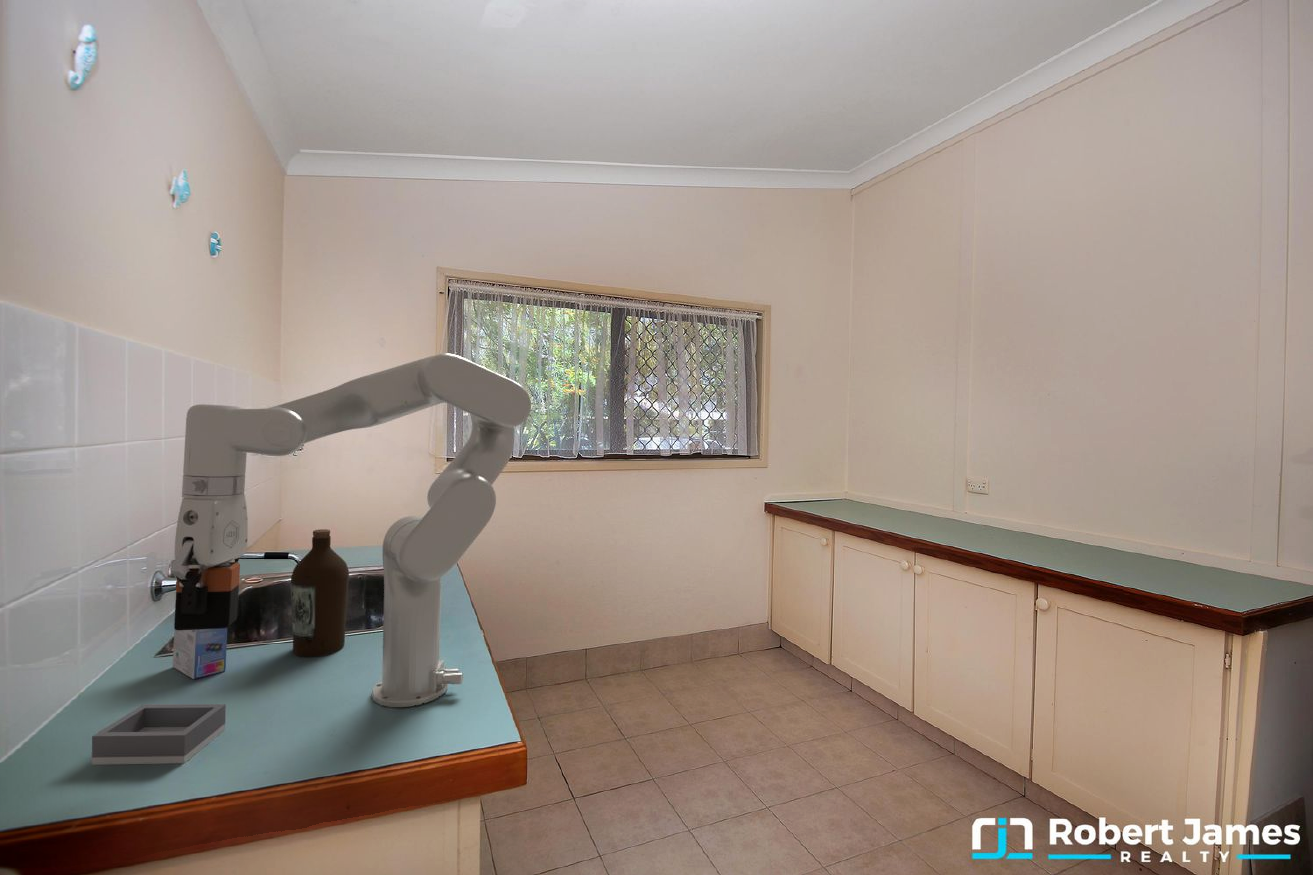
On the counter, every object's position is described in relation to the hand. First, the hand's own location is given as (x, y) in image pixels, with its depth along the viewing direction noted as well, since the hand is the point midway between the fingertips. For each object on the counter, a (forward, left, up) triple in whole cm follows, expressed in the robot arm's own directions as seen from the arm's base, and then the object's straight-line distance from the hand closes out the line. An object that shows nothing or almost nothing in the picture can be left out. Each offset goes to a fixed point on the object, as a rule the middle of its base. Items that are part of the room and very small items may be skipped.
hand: (207, 605), depth 89 cm
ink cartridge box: (+17, -25, -20) cm, 36 cm away
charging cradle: (+5, +2, -20) cm, 21 cm away
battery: (0, 0, -3) cm, 3 cm away
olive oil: (0, -35, -20) cm, 40 cm away
